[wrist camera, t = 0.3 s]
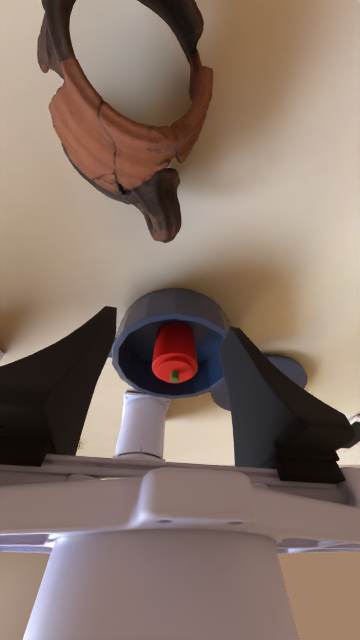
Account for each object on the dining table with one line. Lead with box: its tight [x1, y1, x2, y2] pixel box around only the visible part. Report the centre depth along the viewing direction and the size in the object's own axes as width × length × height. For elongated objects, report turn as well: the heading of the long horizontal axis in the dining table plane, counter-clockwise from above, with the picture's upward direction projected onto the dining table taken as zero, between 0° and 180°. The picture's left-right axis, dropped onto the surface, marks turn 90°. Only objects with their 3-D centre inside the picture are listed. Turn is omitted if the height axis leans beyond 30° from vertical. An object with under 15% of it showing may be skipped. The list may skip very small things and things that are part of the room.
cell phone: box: [336, 415, 360, 452], centre depth 44 cm, size 8×16×1 cm, turn 174°
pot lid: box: [211, 356, 307, 411], centre depth 31 cm, size 15×15×5 cm
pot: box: [108, 288, 230, 399], centre depth 25 cm, size 14×19×5 cm
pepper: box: [152, 322, 198, 383], centre depth 24 cm, size 5×5×7 cm
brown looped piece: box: [37, 0, 213, 243], centre depth 13 cm, size 12×10×8 cm
